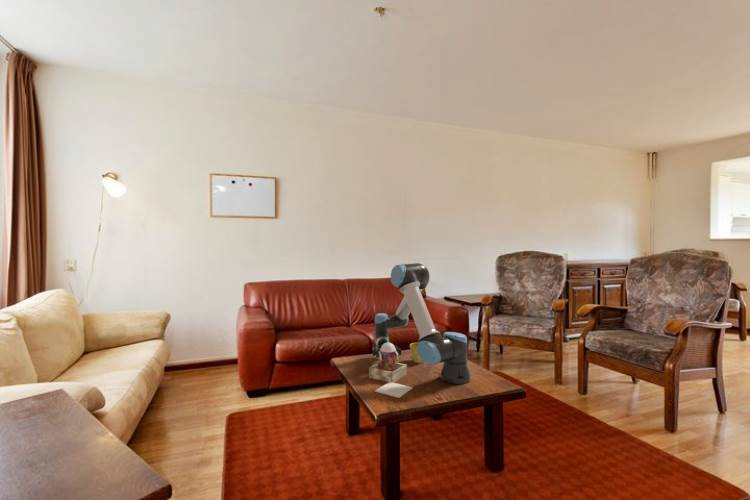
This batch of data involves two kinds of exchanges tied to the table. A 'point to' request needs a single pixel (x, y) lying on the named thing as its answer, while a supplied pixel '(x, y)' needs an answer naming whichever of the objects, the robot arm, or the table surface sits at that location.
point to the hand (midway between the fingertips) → (389, 357)
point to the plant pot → (415, 353)
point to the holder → (388, 372)
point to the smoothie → (388, 356)
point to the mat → (394, 389)
